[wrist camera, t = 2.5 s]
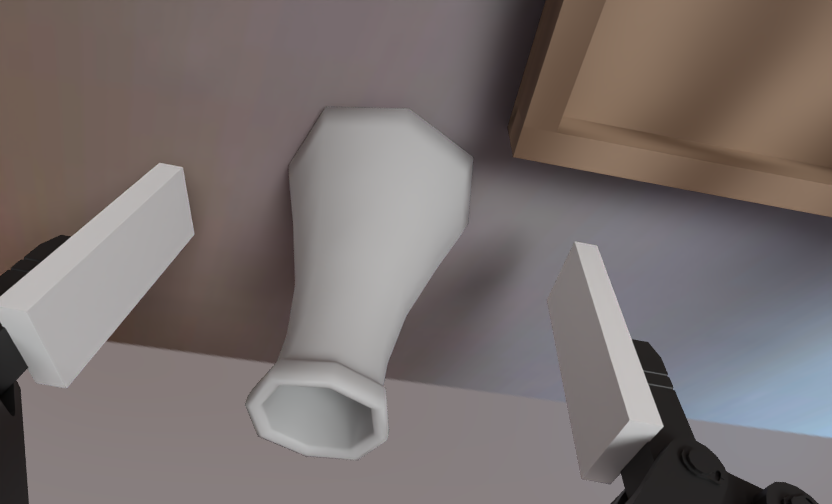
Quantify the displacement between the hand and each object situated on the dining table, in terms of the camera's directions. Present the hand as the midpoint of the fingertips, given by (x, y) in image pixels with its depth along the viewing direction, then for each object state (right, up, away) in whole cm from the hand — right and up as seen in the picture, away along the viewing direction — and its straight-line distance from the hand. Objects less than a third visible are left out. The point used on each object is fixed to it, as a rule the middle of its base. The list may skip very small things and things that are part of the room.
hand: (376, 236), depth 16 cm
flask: (0, +2, +2) cm, 3 cm away
